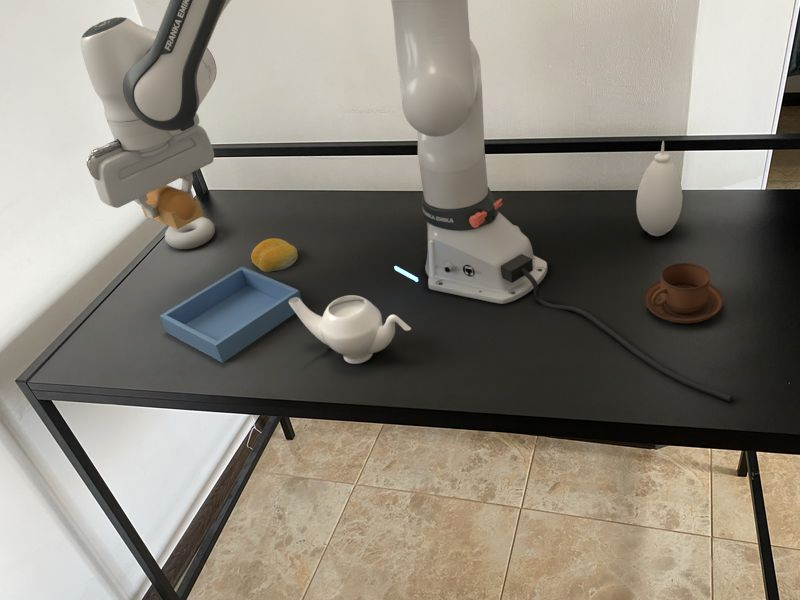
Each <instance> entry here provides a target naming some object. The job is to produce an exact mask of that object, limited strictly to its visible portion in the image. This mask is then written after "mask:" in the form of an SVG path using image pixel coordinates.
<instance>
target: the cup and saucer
mask: <svg viewBox="0 0 800 600" xmlns="http://www.w3.org/2000/svg"><path fill="white" fill-rule="evenodd" d="M643 299H644V303H645V306H646V307H647V309H648V310H649V311H650V312H651V313H652V314H654V315H655V316H657V317H658V318H661V319H662V320H665V321H668V322H671V323H677V324H694V323H700V322H703V321H706V320H709V319H710V318H713V317H714V316H716V315H717V314H718V313H719V312H720V311H721V309H722V308H723V304H724V297H723V294H722V293H721V291H720V290H719V289H718V288H717V287H716V286H715V285H713V284H712V283H711V274H710V272H709V270H708V269H707V268H705V267H704V266H701V265H699V264H697V263H692V262H677V263H672V264H670V265H667V266H666V267H664V268H663V269H662V270H661V274H660V280H657V281H656V282H653V283H652V284H651V285H650V286H649V287H648V288H646V290H645V292H644V296H643Z"/></svg>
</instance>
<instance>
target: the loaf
mask: <svg viewBox="0 0 800 600" xmlns="http://www.w3.org/2000/svg"><path fill="white" fill-rule="evenodd" d="M146 195H147V198H148V200H147V201H145V202H146V203H148V204H149V205H150V204H153V205H156V206H157V207H158V210H159V213H160V215H159V216H157V217H155V218H153V219H152V218H149V217H148V216H147V214H146V211H145V209H144V208H143V207H142V206H140V207H141V209H142V212H143V214H144V217H146V218H149V219H151V220H153V221H156V222H159V223H161V224H163V225H166V226H168V227H173V228H175V229H179V228H181V227H183V226H185V225H187V224H189V223H191V222H193V221H194V220H196V219H198V218H200V217H205V214H204V212H203V209H202V206H201V203H200V201H199V199H197V198H195V197H194V196H193V197H192V196H191V195H190V194H188V193H187V192H185V191H182V190H181V189H179V188H176V187H173V186H170V185H169V184H167V185H165V186H163V187H161V188H158V189H156V190H154V191H152V192H150V193H148V194H146Z"/></svg>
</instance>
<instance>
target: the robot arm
mask: <svg viewBox="0 0 800 600" xmlns="http://www.w3.org/2000/svg"><path fill="white" fill-rule="evenodd" d="M231 1H232V0H169V2H168V5H167V6H166V10H165V13H164V15H163V17H162V20H161V22H160V25H159V28H158V30H154V29H150V28H149V27H148V28H147V27H145V26H142V25H140V24H137V23H136V22H135V21H133V20H132V19H130V18H128V17H122V16H121V17H120V16H119V17H118V16H117V17H113V18H109V19H106V20H103V21H101V22H98V23H96V24H95V25H92V26H91V27H89V28H88V29H87V30H86V31H85V32H84V33H83V34H82V36H81V38H80V50H81V55H82V58H83V62H84V65H85V67H86V68H85V69H86V71H87V74H88V76H89V80H90V82H91V84H92V88H93V89H94V91H95V93H96V95H97V96H98V97H99V99H100V101H101V102H102V105H103V110H104V117H105V119H106V121H107V124H108V127H109V129H110V132H111V135H112V137H113V139H114V140H112V141H110V142H108V143H106V144H105V145H103V146H101V147H96V148H94V149H92V150H91V151H90V154H89V155H88V156H87V159H86V161H85V163H86V167H87V169H88V172H89V174H90V175H91V177H92V178H93V181H94V185H95V188H96V191H97V194H98V197H99V200H100V201H101V202H102V203H103V204H105V205H107V206H109V207H113V208H115V209H118V208H122V207H123V206H125V205H127V204H129V203H131V202H135V203H136V204H137V205H139V206H140V207H141V206H142V207H143V208H144V209H145V211H146V214H147V216H148V217H149V219H151V218H152V219H151V220H153V218H155V217H157V216H159V215H160V213H159V210H158V207H157V206H156V205H153V204H150V205H149V204H148V203H146V202H145V201H147V200H148V198H147V195H146V194H148V193H150V192H152V191H154V190H156V189H158V188H161V187H163V186H165V185H169V184H171V183H173V182H175V181H177V180H179V179H180V180H181V189H180V190H182V191H185V192H187V193H188V194H190V195H191V196H192V197H193V198H194V194H193V191H192V188H193V183H194V176H193V172H196V171H198V170H200V169H202V168H204V167H206V166H208V165H210V164H212V163H213V162H214V159H215V151H214V148H213V145H212V143H211V141H210V137H209V136H208V134H207V131H206V130H205V128H203V127H202V125H199V124H200V117H199V115H198V113H197V112H198V110H199V107H200V105H201V104H202V103H203V101H204V100H205V99H206V97H207V95H208V93H209V92H210V90H211V89H212V87H213V84H214V83H215V80H216V78H217V64H216V60H215V58H214V56H213V54H212V52H211V51H210V49H209V48H208V46H209V44H210V41H211V40H212V37H213V34H214V33H215V32H214V31H215V29H216V27H217V25H218V22H219V20H220V18H221V16H222V15H223V13H224V11H225V9H226V8H227V7H228V5H229V4H230V2H231ZM390 2H391V9H392V10H391V11H392V17H393V31H394V42H395V43H394V44H395V53H396V55H395V56H396V62H397V63H396V64H397V72H398V79H399V80H398V81H399V86H400V95H401V97H400V98H401V107H402V111H403V114H404V117H405V119H406V121H407V122H408V123H409V125H410V126H411V127H412V128H413V129H414V130H415V131H416V132H417V160H418V167H419V173H420V180H421V187H422V193H423V194H422V195H421V196H422V197H421V203H422V205H421V206H422V208H421V209H422V213H423V218H424V221H426V229H427V251H426V252H427V253H426V261H425V265H424V266H425V267H424V268H425V273H426V275H427V276H428V279H427V280H428V281H427V285H428V286H427V287H428V289H430V290H432V291H436V292H440V293H445V294H450V295H455V296H460V297H464V298H471V299H475V300H481V301H485V302H490V303H495V304H500V305H504V304H508V303H512V302H514V301H517V300H519V299H521V298H522V297H524V296H526V295H527V294H529V293H530V292H531V291H532V290H533V297H534V299H535V301H536V302H538V303H539V304H540V305H541V306H545V307H548V308H549V307H550V308H554V309H557V310H562V311H568V312H574V313H577V314H578V315H580V316H582V317H584V318H586V319H587V320H589V321H590V322H592V323H593V324H595V325H596V326H598V327H599V328H600V329H601V330H603V332H605V333H606V334H608V335H610V336H611V337H612V338H613V339H615V340H616V341H617V342H619V343H620V344H621V345H622V346H623V347H625V349H627V350H629V351H630V353H632V354H634V355H635V356H637V357H638V358H639V359H641V360H642V361H643V362H645V363H647V364H648V365H649V366H651V367H653V368H654V369H656V370H658V371H659V372H661V373H662V374H664V375H666V376H668V377H669V378H671V379H673V380H675V381H678V382H679V383H682V384H683V385H686V386H688V387H690V388H692V389H695V390H697V391H701V392H702V393H705V394H708V395H711V396H713V397H716V398H719V399H722V400H724V401H727V402H730V401H731V400H732V395H730V394H728V393H725V392H722V391H720V390H717V389H714V388H712V387H709V386H706V385H704V384H701V383H698V382H695V381H693V380H691V379H689V378H686V377H685V376H683V375H680V374H678V373H677V372H675V371H673V370H671V369H669V368H667V367H665V366H664V365H662V364H660V363H659V362H657V361H655V360H654V359H653V358H651V357H649V356H648V355H647V354H645V353H643V352H642V351H640V350H639V349H638V348H637V347H635V346H634V345H632V344H631V343H630V342H629V341H627V340H626V339H625V338H624V337H622V336H621V335H620V334H618V333H617V332H616V331H614V330H613V329H612V328H611V327H609V326H607V325H606V324H605V323H604V322H602V321H601V320H600V319H598V318H597V317H595V315H593V314H591V313H590V312H588V311H586V310H585V309H582V308H580V307H577V306H573V305H567V304H554V303H551V302H548V301H546V300H544V299H543V298H542V297H541V296H540V291H539V290H540V289H539V285H540V284H541V282H542V281H543V280H544V278H545V277H546V275H547V273H548V262H547V261H545V259H543V258H540V257H538V256H536V255H534V251H533V246H532V244H531V241H530V239H529V237H528V236H526V235H525V234H524V233H523V232H522V231H521V228H520V227H519V226H518V225H515V224H513V223H512V222H511V221H510V220H508V219H507V217H505V216H504V215H503V214H502V213H501V212H500V209H499V208H500V207H501V206H502V205H503V202H502V201H503V198H499V199H497V200H495V197H494V195H493V193H492V191H491V189H490V187H489V183H488V174H487V173H488V172H487V161H486V151H485V127H484V125H485V123H484V102H483V83H482V67H481V66H482V65H481V58H480V56H479V55H480V54H479V52H478V49H477V47H476V45H475V44H474V42H473V41H472V39H471V34H470V33H471V32H470V19H469V2H468V0H390ZM142 207H141V208H142ZM148 217H147V218H148ZM394 270H395V271H396V272H398V273H400V274H402V275H404V276H406V277H407V278H409V279H411V280H413V281H415V282H416V283H417V282H419V277H417V276H415V275H413V274H412V273H409V272H408V271H406V270H404V269H402V268H400V267H399V266H397V265H395V266H394Z"/></svg>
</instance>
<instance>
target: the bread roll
mask: <svg viewBox="0 0 800 600" xmlns="http://www.w3.org/2000/svg"><path fill="white" fill-rule="evenodd" d="M298 257H299V254H298V249H297V248H296V247H295V246H294V245H293V244H290V243H289V242H288V241H287V240H284V239H281V238H276V237H275V238H274V237H271V238H267V239H264V240H262V241H260V242H259V243H258V244H257V245H256V246H255V247H254V248H253V250H252V252H251V255H250V258H251V259H250V260H251V262H252V263H253V265H254V266H256V267H257V268H258V269H260V270H261V271H262V272H264V273H271V272H277V271H283V270H286V269H288V268H290V267H291V266H293V265H294V264H295V263H296V261H298Z"/></svg>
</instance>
